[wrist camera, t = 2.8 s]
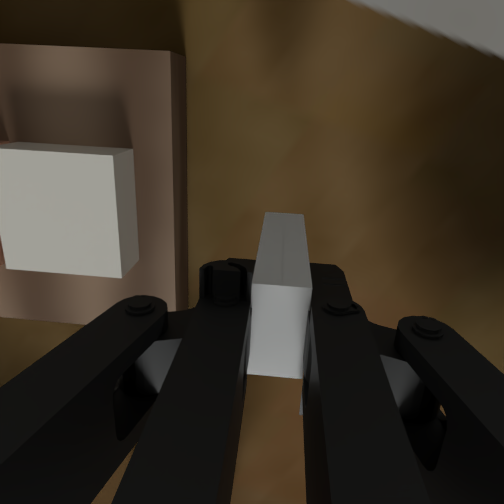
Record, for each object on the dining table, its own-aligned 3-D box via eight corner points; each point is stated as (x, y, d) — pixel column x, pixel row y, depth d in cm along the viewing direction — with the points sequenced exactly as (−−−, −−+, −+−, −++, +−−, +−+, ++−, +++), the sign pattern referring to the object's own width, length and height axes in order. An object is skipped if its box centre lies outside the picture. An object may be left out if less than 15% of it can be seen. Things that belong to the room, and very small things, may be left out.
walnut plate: (185, 57, 22) (170, 50, 19) (188, 308, 27) (176, 333, 24) (-100, 44, 23) (-155, 36, 20) (-42, 288, 28) (-79, 309, 25)
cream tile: (133, 148, 20) (112, 155, 18) (139, 259, 23) (121, 278, 20) (18, 141, 21) (-16, 147, 19) (35, 251, 23) (6, 268, 21)
